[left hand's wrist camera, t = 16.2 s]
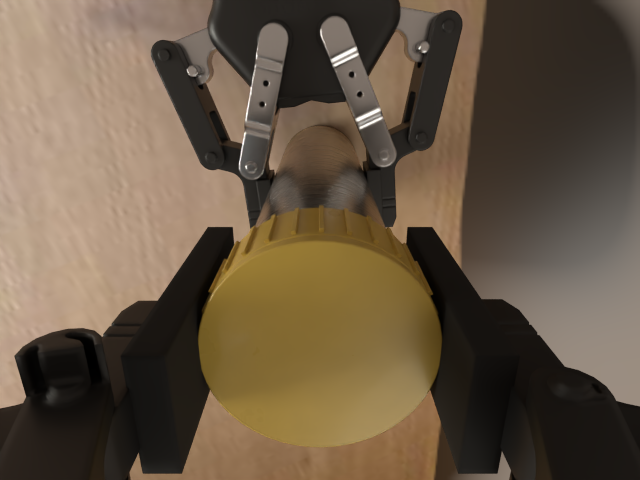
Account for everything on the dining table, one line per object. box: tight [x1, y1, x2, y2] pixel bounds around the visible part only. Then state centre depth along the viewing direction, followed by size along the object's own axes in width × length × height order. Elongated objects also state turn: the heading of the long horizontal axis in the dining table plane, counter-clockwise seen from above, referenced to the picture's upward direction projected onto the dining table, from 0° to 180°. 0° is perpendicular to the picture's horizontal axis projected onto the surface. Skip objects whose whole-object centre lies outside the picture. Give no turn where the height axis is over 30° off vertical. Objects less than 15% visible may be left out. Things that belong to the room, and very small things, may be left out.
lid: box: [198, 205, 442, 447], centre depth 11 cm, size 6×6×2 cm
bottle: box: [255, 126, 386, 229], centre depth 20 cm, size 5×5×20 cm
